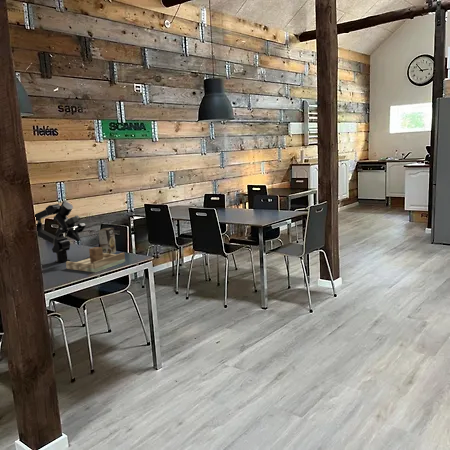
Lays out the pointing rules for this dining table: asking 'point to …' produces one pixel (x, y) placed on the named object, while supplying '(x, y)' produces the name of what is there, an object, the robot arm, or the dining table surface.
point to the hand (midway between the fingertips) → (79, 240)
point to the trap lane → (97, 263)
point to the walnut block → (95, 254)
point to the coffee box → (107, 240)
